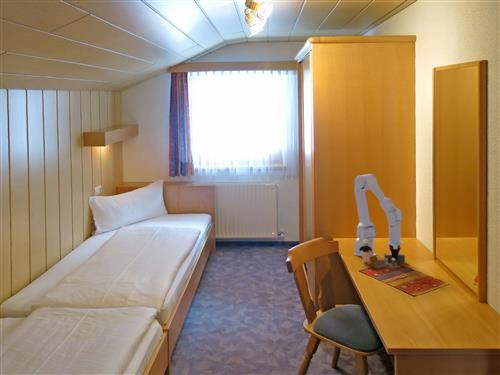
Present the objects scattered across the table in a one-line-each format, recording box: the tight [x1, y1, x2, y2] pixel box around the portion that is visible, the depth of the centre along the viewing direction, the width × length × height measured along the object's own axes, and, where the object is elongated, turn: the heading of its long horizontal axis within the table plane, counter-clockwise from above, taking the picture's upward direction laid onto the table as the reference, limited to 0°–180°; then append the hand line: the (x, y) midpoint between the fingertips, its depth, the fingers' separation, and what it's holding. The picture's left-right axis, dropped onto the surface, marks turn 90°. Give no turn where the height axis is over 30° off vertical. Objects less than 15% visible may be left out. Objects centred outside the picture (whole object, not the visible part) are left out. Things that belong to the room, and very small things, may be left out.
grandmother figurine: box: [358, 239, 374, 265], centre depth 273 cm, size 8×4×13 cm, turn 84°
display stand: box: [374, 257, 399, 269], centre depth 266 cm, size 11×6×4 cm, turn 78°
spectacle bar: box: [383, 253, 406, 264], centre depth 273 cm, size 10×3×4 cm, turn 78°
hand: (394, 259), depth 273 cm, fingers closed on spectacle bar, 3 cm apart
